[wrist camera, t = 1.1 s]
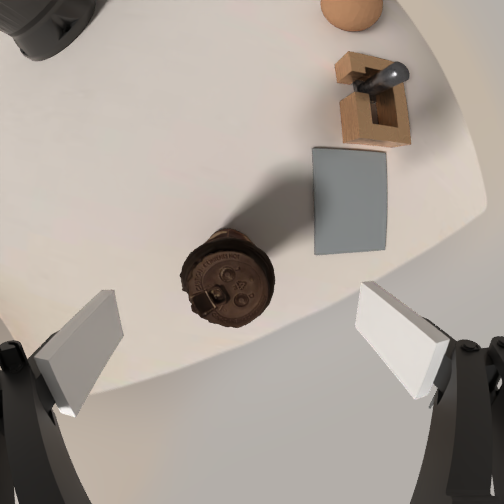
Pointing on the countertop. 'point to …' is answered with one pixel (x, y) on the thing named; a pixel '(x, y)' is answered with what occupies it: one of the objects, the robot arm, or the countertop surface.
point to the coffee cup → (228, 279)
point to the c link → (359, 110)
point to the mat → (349, 201)
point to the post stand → (382, 80)
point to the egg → (352, 13)
